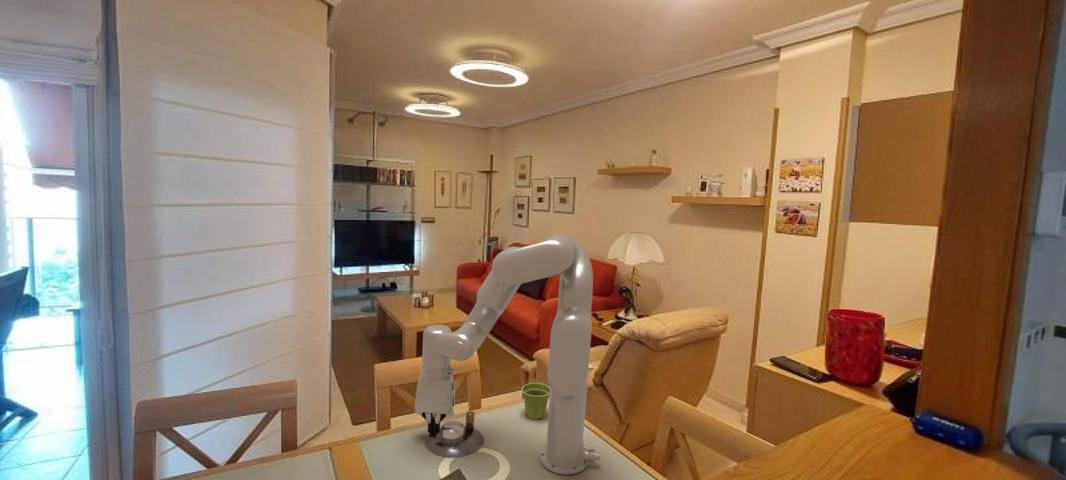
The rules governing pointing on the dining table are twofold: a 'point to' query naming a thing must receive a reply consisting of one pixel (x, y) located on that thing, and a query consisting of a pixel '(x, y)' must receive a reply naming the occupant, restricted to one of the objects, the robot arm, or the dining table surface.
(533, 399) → the plant pot
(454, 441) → the cover
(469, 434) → the turntable
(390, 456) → the dining table surface
